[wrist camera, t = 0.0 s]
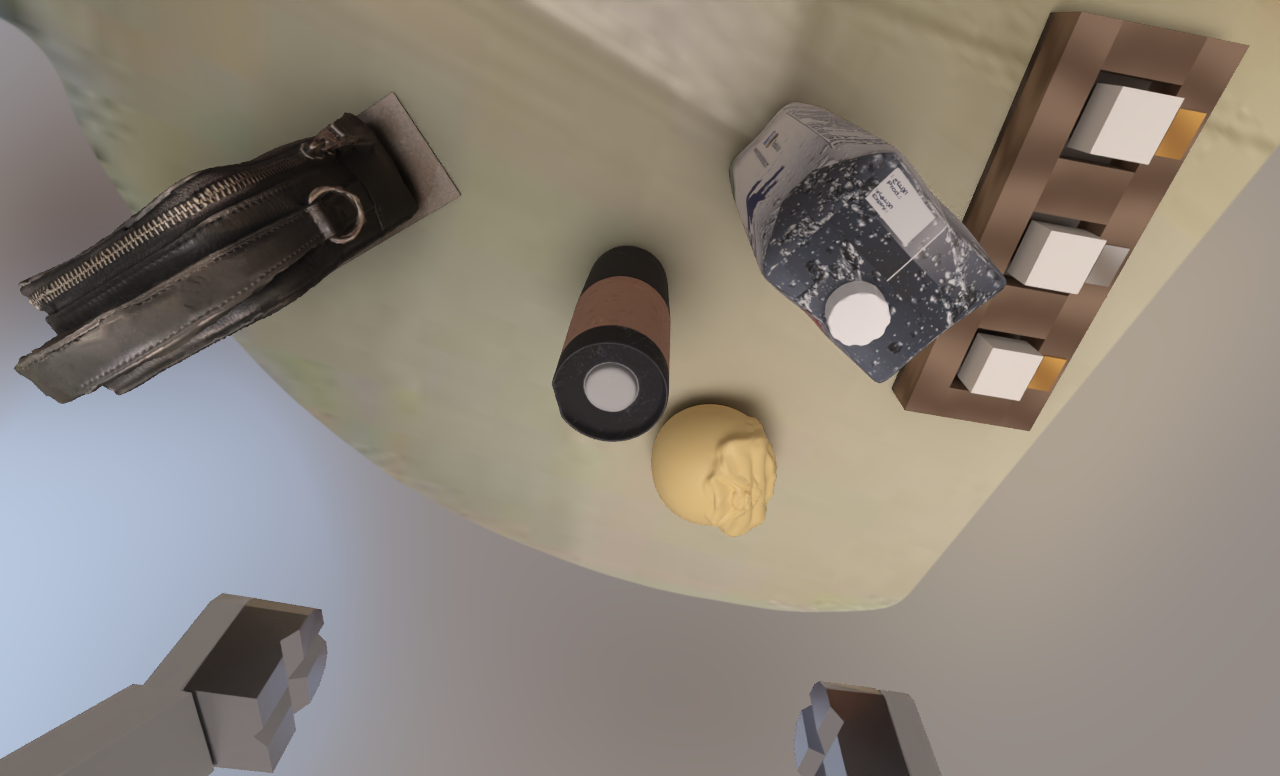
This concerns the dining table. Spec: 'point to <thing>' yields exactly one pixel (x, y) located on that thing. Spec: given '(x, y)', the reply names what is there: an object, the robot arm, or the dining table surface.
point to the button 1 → (999, 366)
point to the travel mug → (617, 349)
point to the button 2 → (1124, 123)
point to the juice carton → (857, 238)
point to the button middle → (1055, 257)
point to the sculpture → (715, 468)
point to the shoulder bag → (229, 251)
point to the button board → (1066, 198)
